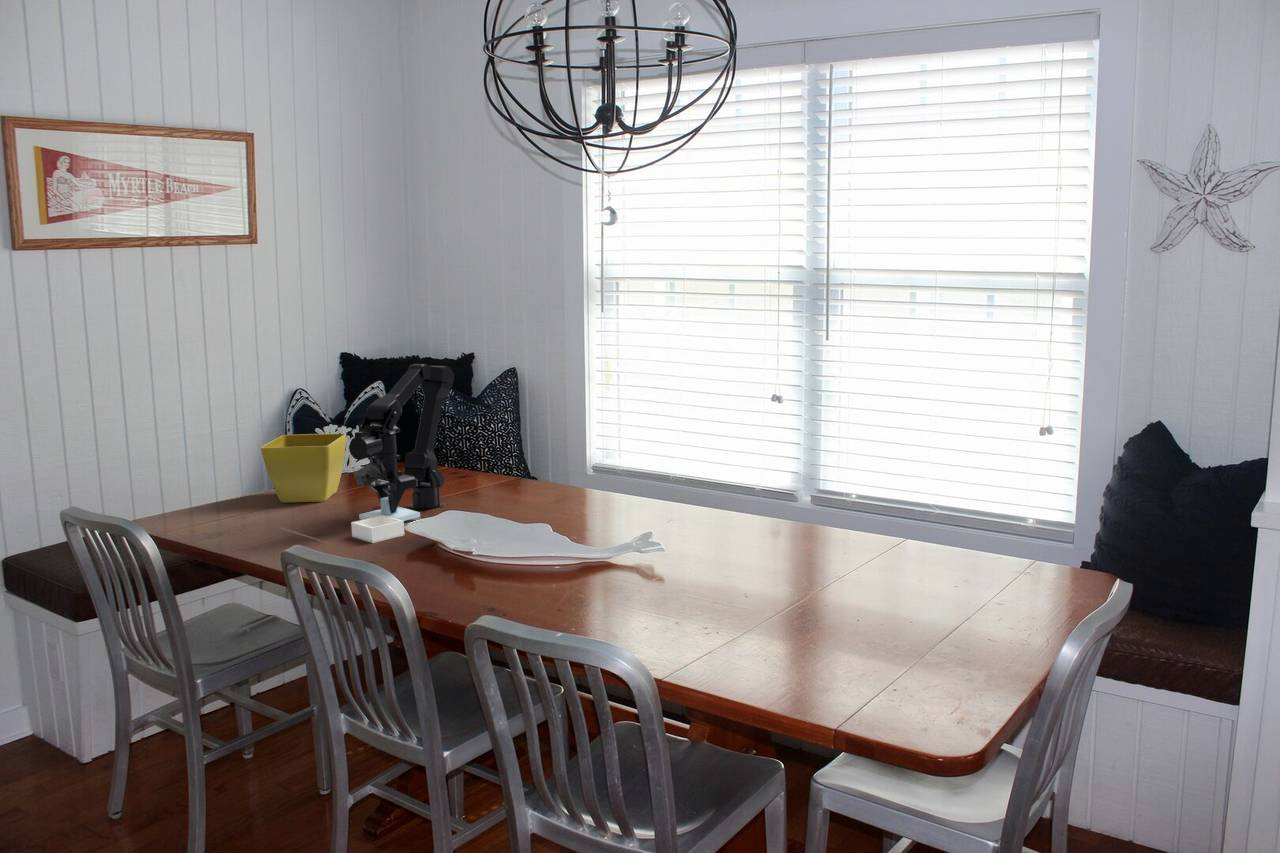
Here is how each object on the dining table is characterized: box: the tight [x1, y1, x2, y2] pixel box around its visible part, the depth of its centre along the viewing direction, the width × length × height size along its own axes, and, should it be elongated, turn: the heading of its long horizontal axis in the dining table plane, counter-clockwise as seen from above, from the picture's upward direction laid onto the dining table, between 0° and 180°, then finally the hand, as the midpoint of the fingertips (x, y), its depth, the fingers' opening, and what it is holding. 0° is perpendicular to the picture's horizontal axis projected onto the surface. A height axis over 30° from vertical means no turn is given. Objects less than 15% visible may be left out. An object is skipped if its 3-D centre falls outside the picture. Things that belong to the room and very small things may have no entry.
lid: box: [358, 497, 421, 521], centre depth 280 cm, size 11×11×5 cm
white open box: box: [350, 515, 405, 544], centre depth 266 cm, size 9×9×4 cm
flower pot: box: [260, 433, 347, 503], centre depth 311 cm, size 19×19×17 cm
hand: (389, 511), depth 280 cm, fingers closed on lid, 3 cm apart
